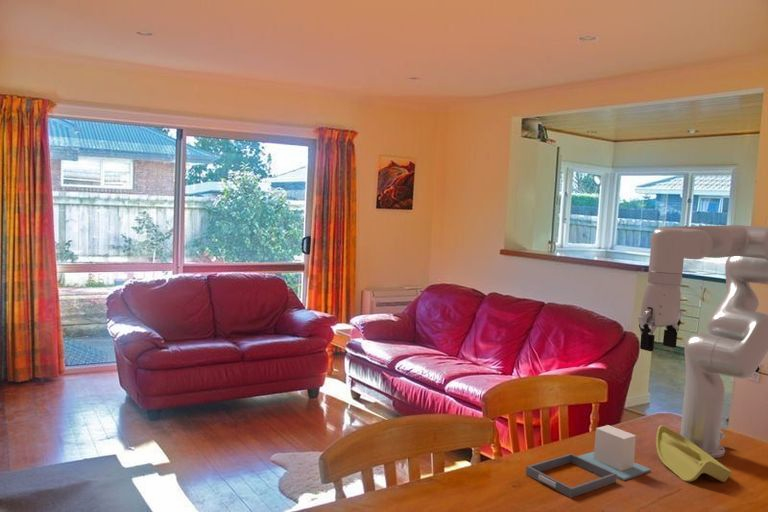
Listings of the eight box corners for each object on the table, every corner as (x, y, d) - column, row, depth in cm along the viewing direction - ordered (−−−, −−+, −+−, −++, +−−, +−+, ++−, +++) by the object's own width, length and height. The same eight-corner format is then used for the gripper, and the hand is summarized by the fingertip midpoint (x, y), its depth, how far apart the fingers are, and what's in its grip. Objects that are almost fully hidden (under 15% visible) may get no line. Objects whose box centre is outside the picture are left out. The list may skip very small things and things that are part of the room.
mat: (602, 450, 166) (602, 448, 166) (650, 471, 154) (650, 469, 154) (575, 458, 159) (575, 456, 159) (623, 480, 148) (623, 478, 148)
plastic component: (736, 474, 149) (704, 458, 147) (719, 500, 150) (688, 484, 148) (684, 436, 169) (656, 421, 166) (670, 459, 169) (641, 445, 167)
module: (605, 454, 161) (608, 424, 161) (633, 466, 155) (636, 435, 154) (593, 458, 159) (596, 428, 158) (621, 470, 152) (624, 439, 151)
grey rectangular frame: (570, 461, 158) (571, 453, 157) (615, 482, 147) (616, 474, 147) (524, 474, 148) (525, 466, 148) (569, 498, 137) (570, 489, 137)
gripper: (670, 276, 160) (663, 341, 162) (629, 278, 150) (623, 348, 152) (698, 280, 154) (691, 348, 156) (658, 282, 144) (651, 355, 146)
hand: (658, 348), depth 154 cm, fingers open, 9 cm apart
